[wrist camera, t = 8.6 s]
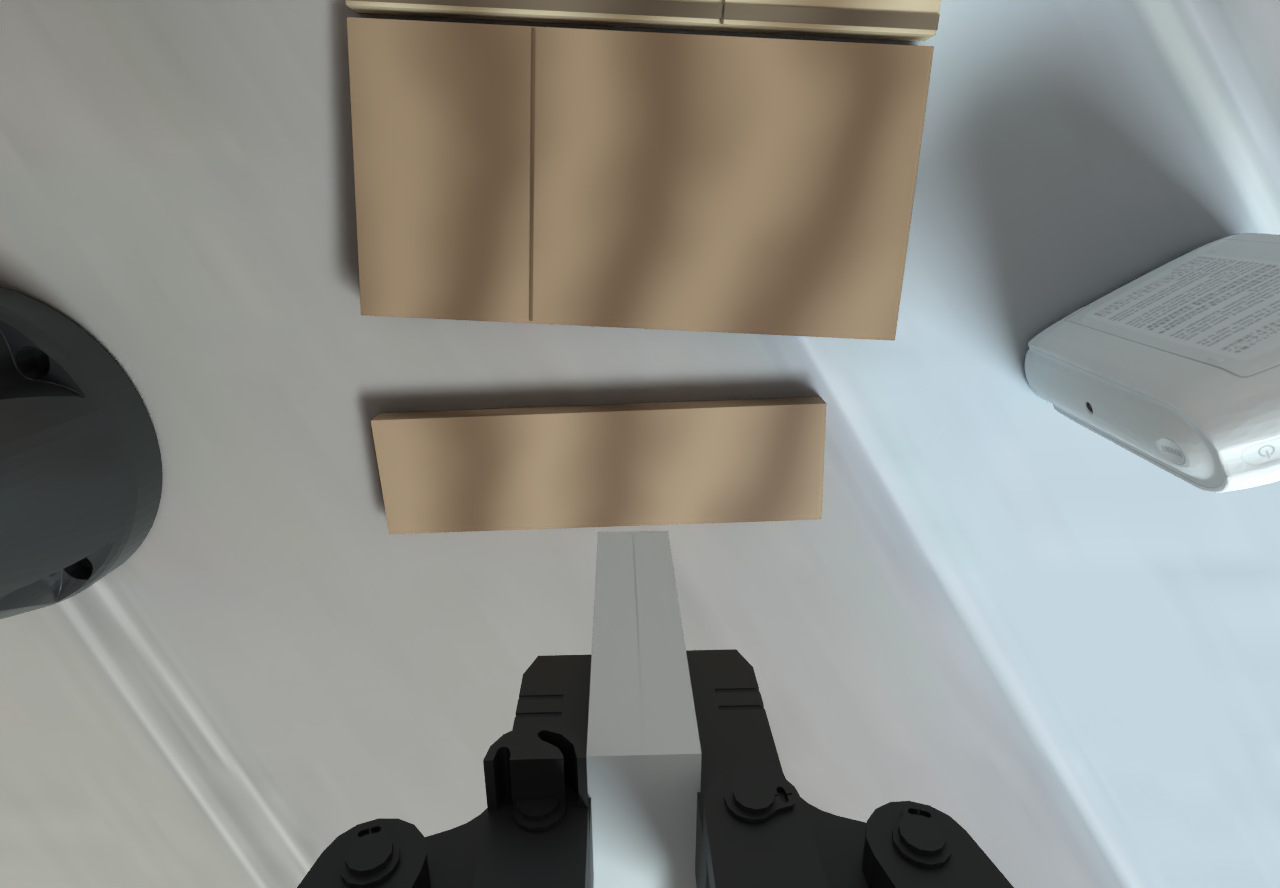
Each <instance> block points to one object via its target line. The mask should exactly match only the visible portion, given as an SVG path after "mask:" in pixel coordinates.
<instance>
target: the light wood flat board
mask: <svg viewBox="0 0 1280 888" xmlns="http://www.w3.org/2000/svg"><path fill="white" fill-rule="evenodd" d="M940 3H941V0H346V5H347V6H348V7H350V8H351V9H353V10H354V11H356V12H357V13H371V14H391V15H411V16H431V17H451V18H471V19H491V20H510V21H530V22H550V23H570V24H590V25H610V26H630V27H650V28H670V29H690V30H709V31H729V32H749V33H769V34H789V35H809V36H829V37H849V38H869V39H889V40H908V41H925V40H927V39H929V38H931V37H932V36H934V35H936V30H937V28H938V22H939V15H940V14H939V9H940Z"/></svg>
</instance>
